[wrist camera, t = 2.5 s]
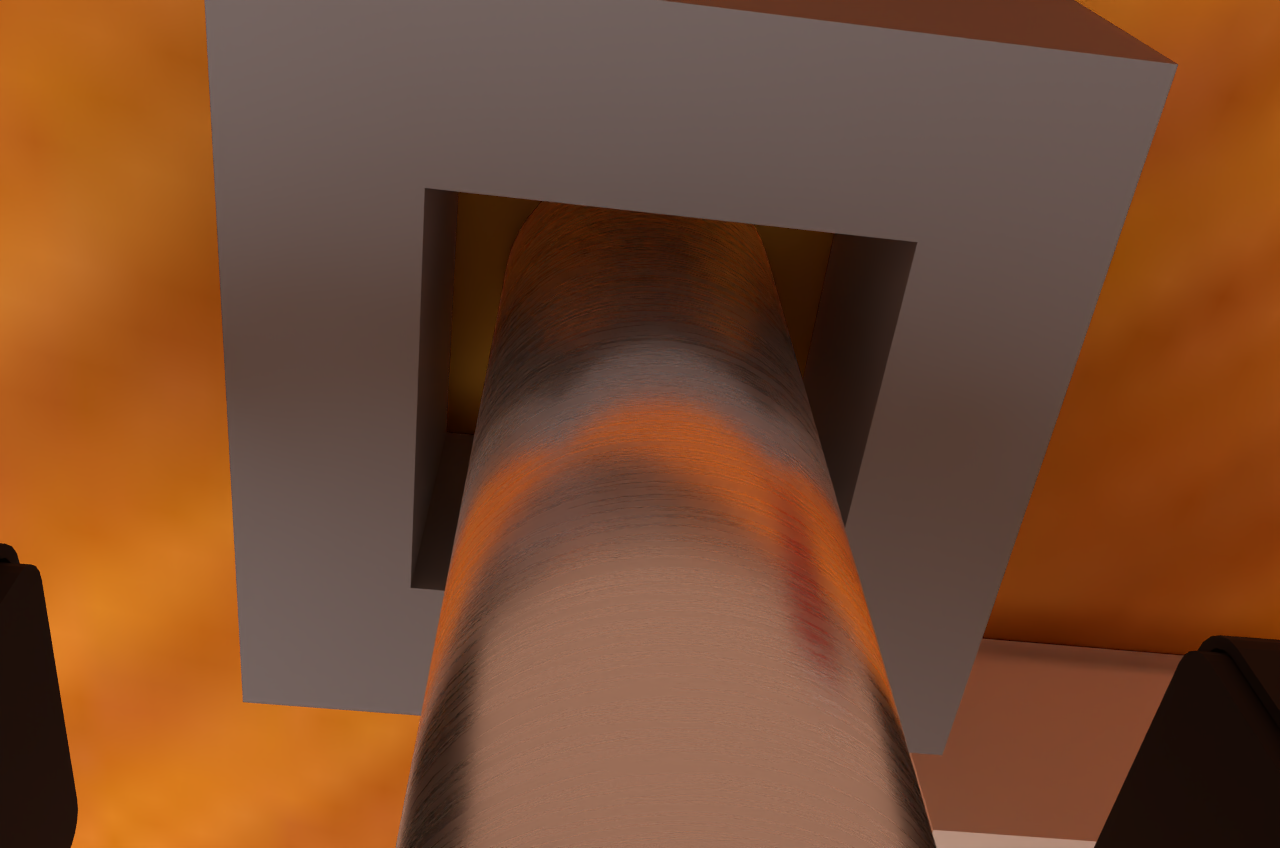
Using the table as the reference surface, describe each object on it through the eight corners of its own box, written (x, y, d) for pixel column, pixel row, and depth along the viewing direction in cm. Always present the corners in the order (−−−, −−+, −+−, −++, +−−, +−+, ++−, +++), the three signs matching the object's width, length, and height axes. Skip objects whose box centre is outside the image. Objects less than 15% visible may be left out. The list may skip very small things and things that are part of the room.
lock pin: (793, 180, 17) (1059, 864, 7) (746, 420, 19) (901, 1226, 9) (514, 148, 17) (364, 816, 7) (496, 396, 19) (359, 1203, 9)
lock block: (1057, -10, 16) (1178, 64, 13) (888, 584, 21) (942, 754, 18) (294, -109, 15) (202, -57, 12) (305, 534, 20) (243, 701, 17)
